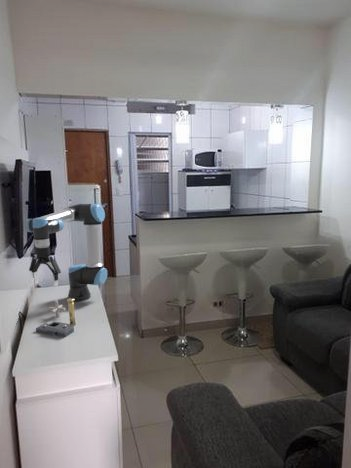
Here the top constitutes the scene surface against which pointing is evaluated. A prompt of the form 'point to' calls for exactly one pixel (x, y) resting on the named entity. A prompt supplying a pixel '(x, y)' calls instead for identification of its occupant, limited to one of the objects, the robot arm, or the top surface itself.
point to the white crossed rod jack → (56, 308)
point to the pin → (71, 310)
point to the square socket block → (56, 329)
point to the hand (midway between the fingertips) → (46, 284)
